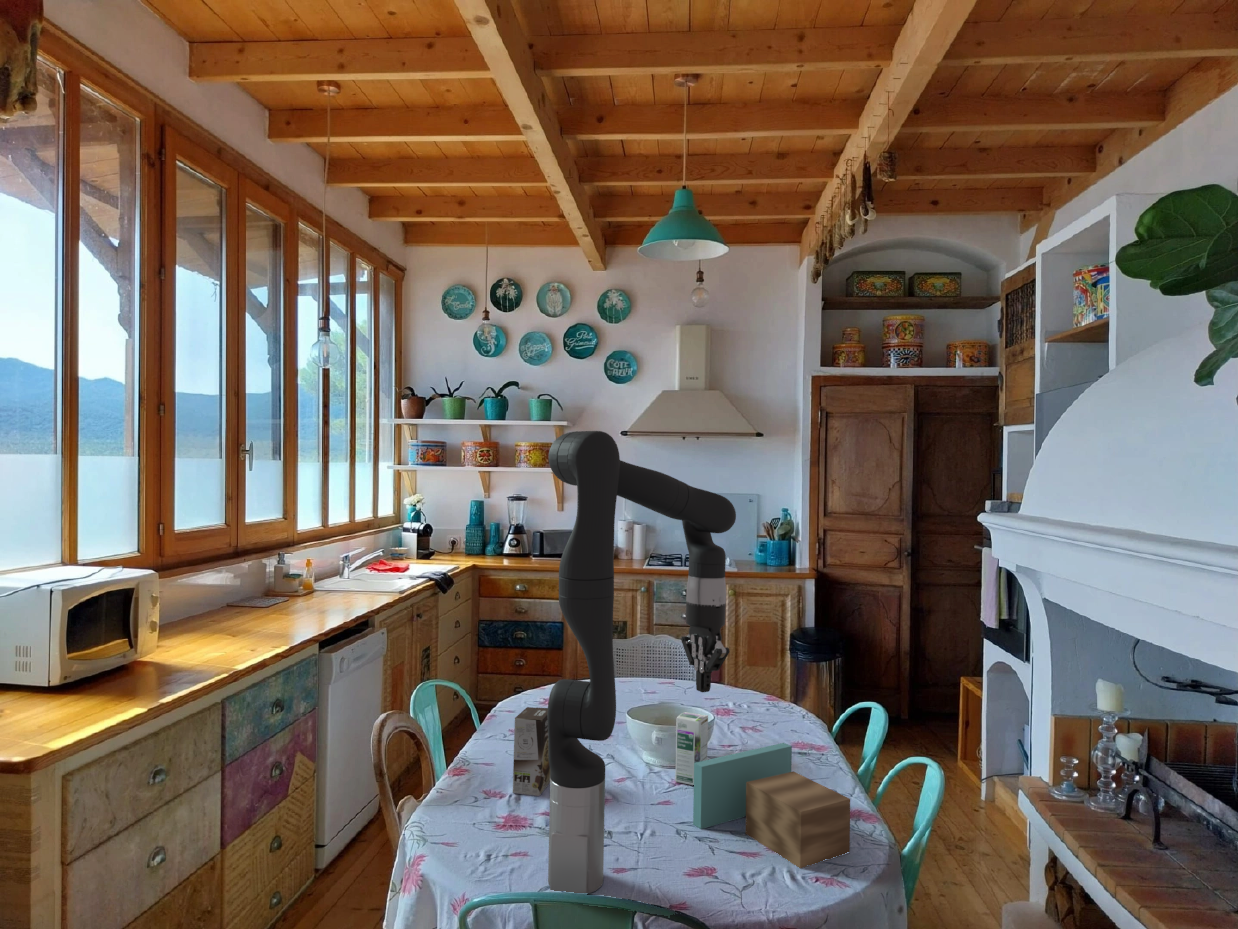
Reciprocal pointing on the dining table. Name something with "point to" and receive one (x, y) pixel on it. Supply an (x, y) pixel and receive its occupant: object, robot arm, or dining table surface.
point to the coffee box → (531, 752)
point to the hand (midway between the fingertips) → (703, 691)
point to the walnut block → (798, 818)
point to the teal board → (733, 782)
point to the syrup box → (690, 745)
